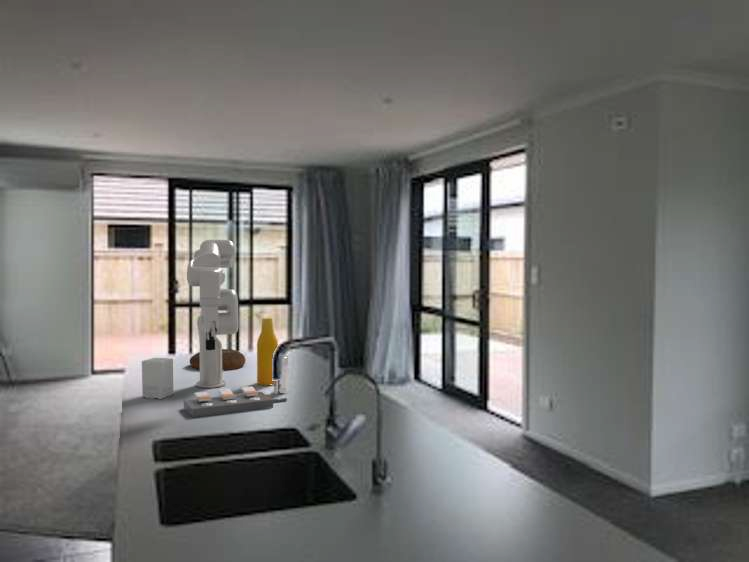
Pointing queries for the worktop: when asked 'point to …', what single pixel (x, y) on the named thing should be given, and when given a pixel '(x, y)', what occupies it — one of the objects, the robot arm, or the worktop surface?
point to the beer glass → (282, 378)
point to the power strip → (229, 404)
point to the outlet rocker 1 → (226, 394)
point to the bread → (223, 359)
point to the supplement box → (157, 378)
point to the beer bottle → (266, 352)
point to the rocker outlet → (202, 396)
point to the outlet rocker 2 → (249, 391)
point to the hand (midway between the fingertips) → (210, 349)
